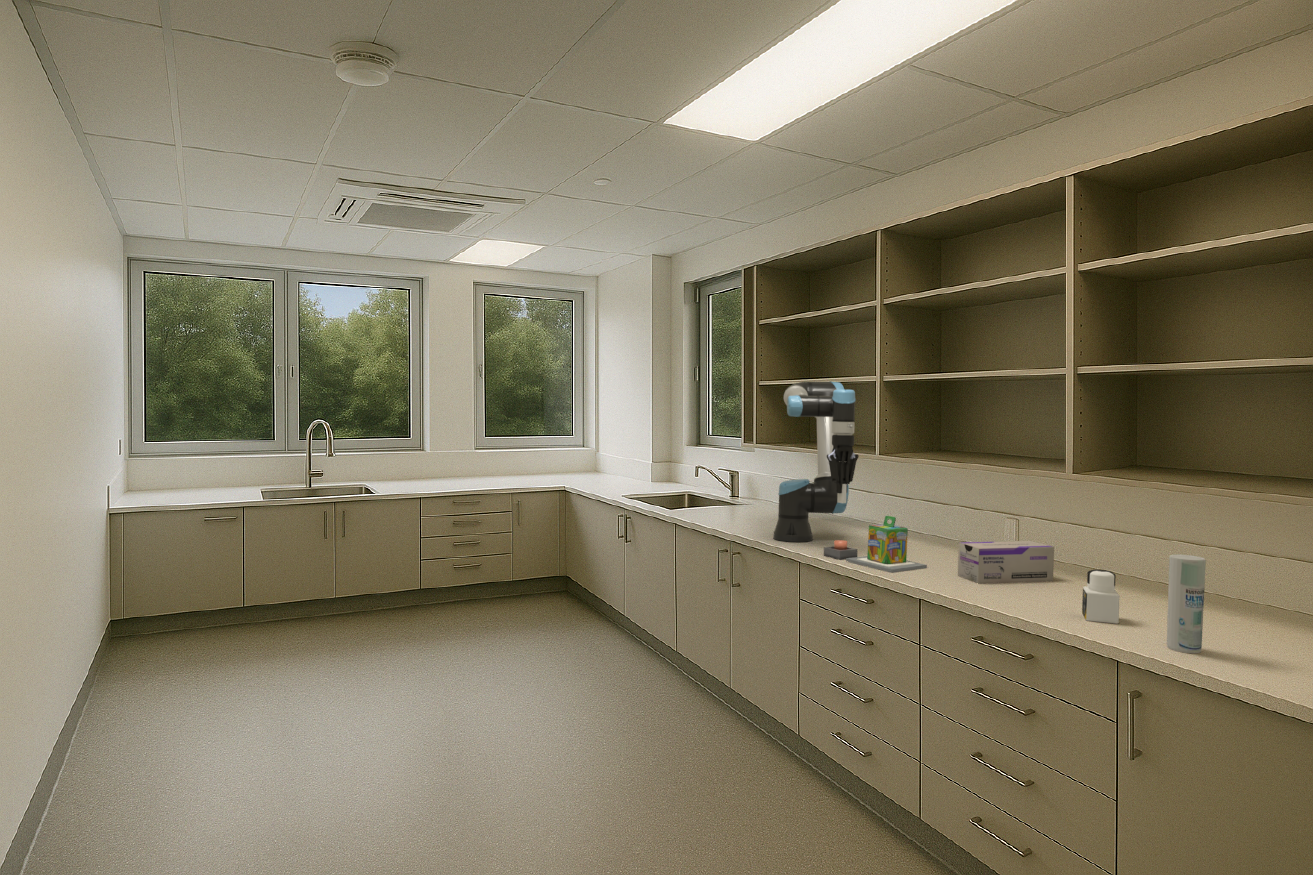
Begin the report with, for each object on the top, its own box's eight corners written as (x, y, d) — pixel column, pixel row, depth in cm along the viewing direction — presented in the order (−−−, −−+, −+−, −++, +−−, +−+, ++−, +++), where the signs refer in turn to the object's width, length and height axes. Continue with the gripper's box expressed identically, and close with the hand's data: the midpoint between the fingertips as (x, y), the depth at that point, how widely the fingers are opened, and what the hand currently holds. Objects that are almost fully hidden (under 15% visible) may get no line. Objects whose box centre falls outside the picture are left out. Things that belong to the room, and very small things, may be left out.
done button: (831, 549, 271) (831, 540, 271) (840, 548, 273) (841, 539, 273) (840, 551, 267) (840, 542, 267) (849, 550, 269) (850, 541, 269)
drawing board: (846, 561, 262) (846, 557, 262) (880, 557, 270) (880, 553, 270) (891, 572, 245) (891, 568, 245) (926, 567, 253) (926, 564, 253)
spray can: (1182, 653, 165) (1185, 560, 164) (1158, 644, 172) (1162, 554, 171) (1209, 653, 166) (1213, 559, 165) (1185, 643, 172) (1188, 554, 172)
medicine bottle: (1081, 613, 197) (1083, 566, 197) (1114, 617, 195) (1115, 569, 194) (1085, 620, 191) (1086, 572, 190) (1118, 624, 188) (1120, 574, 188)
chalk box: (866, 559, 259) (867, 515, 259) (887, 557, 263) (888, 513, 263) (886, 564, 251) (887, 519, 250) (907, 562, 255) (908, 517, 254)
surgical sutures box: (1029, 574, 246) (1030, 540, 245) (1053, 581, 235) (1054, 546, 235) (957, 576, 241) (958, 542, 241) (978, 584, 231) (979, 548, 230)
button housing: (823, 555, 272) (823, 547, 271) (840, 553, 276) (841, 545, 275) (839, 559, 265) (840, 550, 264) (857, 557, 269) (857, 549, 268)
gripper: (836, 434, 262) (835, 504, 263) (865, 434, 268) (863, 503, 269) (821, 434, 268) (819, 502, 269) (849, 434, 275) (847, 500, 276)
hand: (841, 502), depth 269 cm, fingers closed
